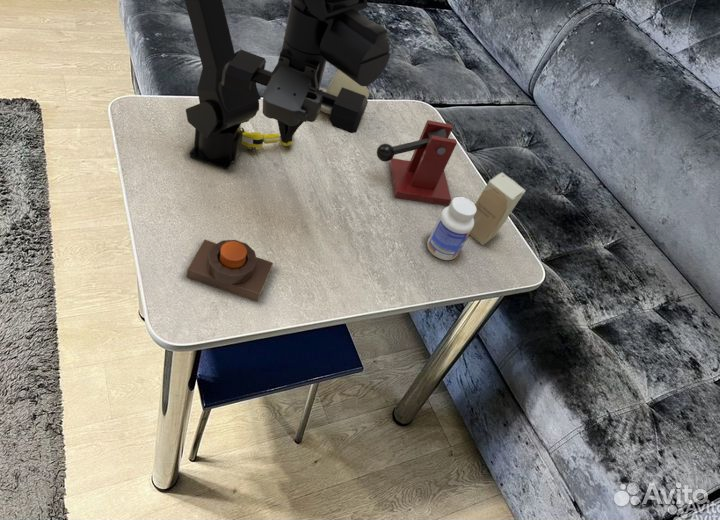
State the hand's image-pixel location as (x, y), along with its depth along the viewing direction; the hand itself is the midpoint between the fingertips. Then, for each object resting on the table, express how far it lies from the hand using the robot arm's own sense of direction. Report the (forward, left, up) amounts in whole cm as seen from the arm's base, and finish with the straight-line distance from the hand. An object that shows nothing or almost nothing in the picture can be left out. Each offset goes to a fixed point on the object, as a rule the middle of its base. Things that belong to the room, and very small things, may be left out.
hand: (285, 141), depth 84 cm
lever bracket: (+22, +16, -12) cm, 30 cm away
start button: (-1, -16, -9) cm, 19 cm away
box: (+34, +9, -12) cm, 37 cm away
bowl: (+8, +29, -8) cm, 31 cm away
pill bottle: (+28, +2, -12) cm, 31 cm away
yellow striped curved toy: (-5, +13, -12) cm, 19 cm away
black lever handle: (+19, +16, -5) cm, 25 cm away
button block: (-1, -17, -12) cm, 20 cm away
